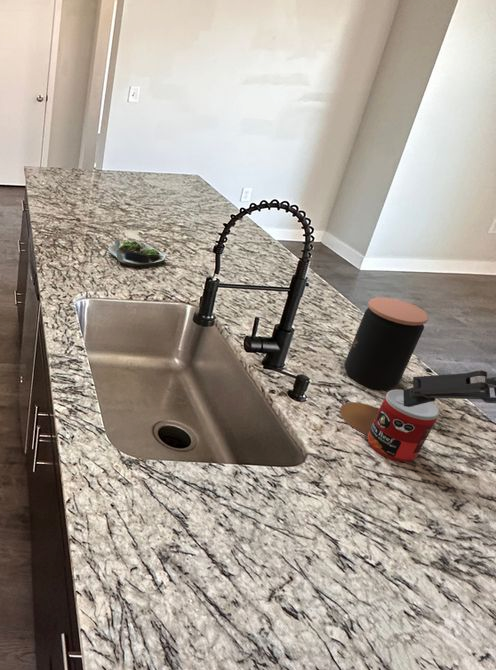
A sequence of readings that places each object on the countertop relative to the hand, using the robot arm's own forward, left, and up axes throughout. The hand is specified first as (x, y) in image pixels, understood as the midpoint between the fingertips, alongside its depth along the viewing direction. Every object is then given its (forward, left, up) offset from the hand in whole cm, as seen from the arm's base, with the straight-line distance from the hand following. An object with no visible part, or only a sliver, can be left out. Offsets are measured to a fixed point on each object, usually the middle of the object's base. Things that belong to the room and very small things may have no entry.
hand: (452, 409), depth 88 cm
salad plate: (+65, -72, -17) cm, 98 cm away
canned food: (+2, -8, -17) cm, 19 cm away
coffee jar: (+3, -33, -17) cm, 37 cm away
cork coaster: (+5, -16, -17) cm, 23 cm away
